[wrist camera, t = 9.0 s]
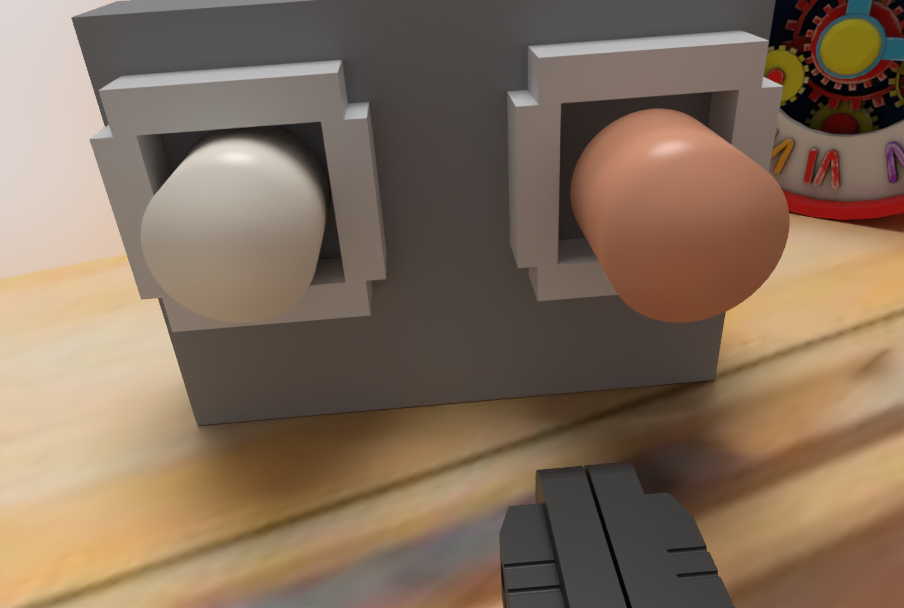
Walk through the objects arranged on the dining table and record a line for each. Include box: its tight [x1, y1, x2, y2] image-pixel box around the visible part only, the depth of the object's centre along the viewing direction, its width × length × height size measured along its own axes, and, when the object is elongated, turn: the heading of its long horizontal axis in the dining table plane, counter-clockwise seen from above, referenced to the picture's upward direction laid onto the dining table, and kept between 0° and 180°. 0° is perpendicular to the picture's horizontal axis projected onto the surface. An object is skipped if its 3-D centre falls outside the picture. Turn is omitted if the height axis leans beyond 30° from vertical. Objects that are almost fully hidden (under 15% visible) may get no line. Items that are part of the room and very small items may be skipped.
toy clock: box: [763, 0, 904, 220], centre depth 41 cm, size 20×6×20 cm, turn 53°
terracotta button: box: [570, 109, 789, 323], centre depth 21 cm, size 4×5×5 cm
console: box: [72, 0, 784, 426], centre depth 27 cm, size 22×8×16 cm, turn 94°
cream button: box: [141, 125, 330, 323], centre depth 22 cm, size 4×5×5 cm
